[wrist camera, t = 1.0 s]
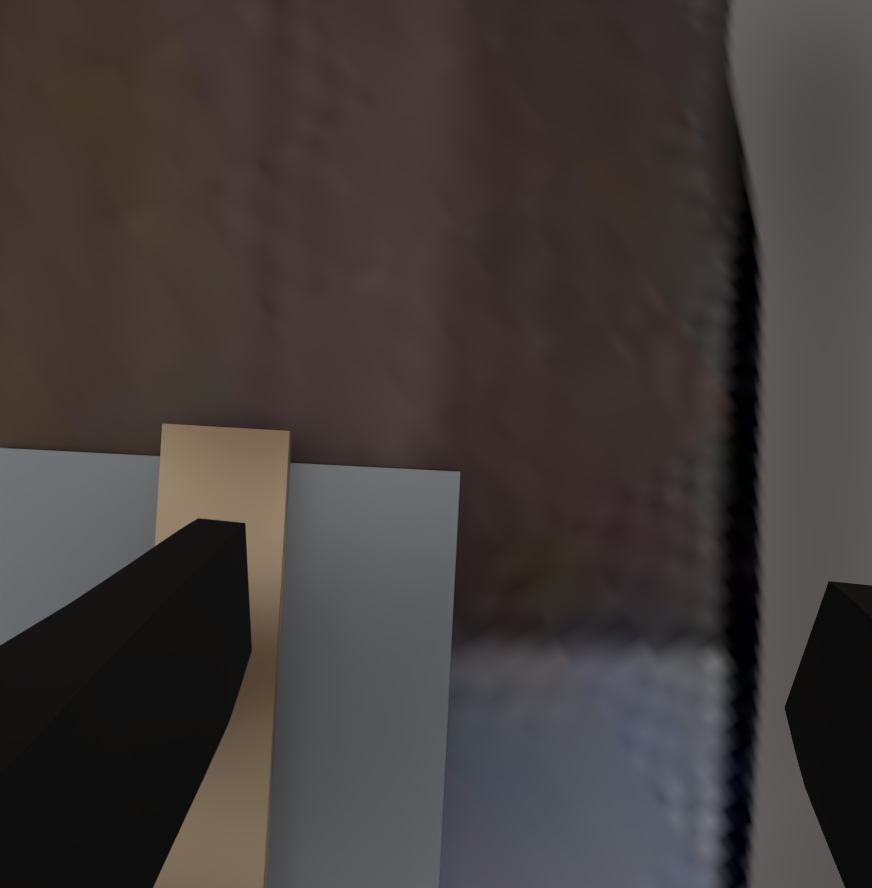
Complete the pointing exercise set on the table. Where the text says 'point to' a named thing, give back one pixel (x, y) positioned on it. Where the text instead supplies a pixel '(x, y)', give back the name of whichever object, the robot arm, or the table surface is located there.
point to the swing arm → (254, 715)
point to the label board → (292, 641)
